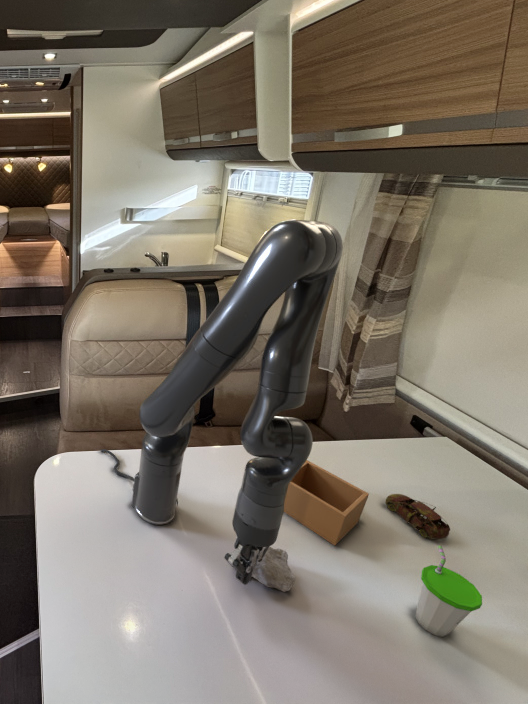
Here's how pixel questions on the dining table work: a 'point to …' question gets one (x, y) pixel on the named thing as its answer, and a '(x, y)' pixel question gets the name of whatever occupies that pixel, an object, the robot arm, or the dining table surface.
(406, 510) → the toy car
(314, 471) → the box
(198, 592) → the dining table surface
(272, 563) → the stone
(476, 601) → the cup
